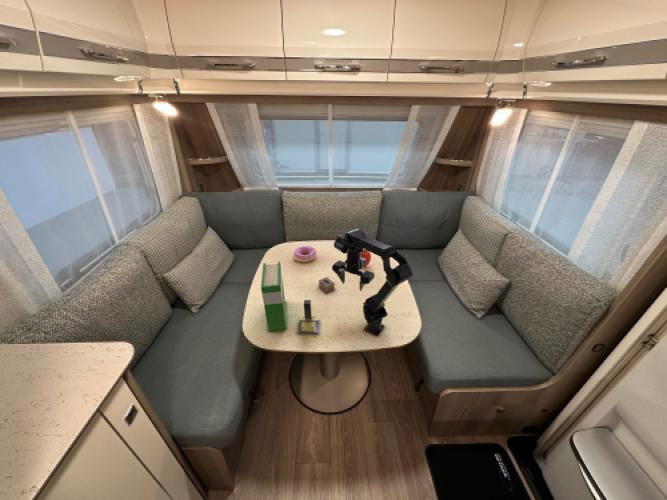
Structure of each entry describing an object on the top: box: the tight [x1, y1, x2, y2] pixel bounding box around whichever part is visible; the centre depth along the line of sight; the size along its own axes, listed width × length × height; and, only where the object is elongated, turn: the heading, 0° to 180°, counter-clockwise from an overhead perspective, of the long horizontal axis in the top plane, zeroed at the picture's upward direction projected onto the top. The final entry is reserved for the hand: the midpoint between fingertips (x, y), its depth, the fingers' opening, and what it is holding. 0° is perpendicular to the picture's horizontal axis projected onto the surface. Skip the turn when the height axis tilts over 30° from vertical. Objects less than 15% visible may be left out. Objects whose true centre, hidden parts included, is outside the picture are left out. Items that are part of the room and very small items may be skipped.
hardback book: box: [260, 261, 287, 332], centre depth 118 cm, size 18×7×24 cm, turn 10°
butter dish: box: [297, 315, 320, 335], centre depth 117 cm, size 8×7×4 cm
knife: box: [303, 299, 313, 322], centre depth 114 cm, size 3×2×14 cm
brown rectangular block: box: [318, 276, 335, 294], centre depth 140 cm, size 7×5×4 cm
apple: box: [360, 249, 372, 268], centre depth 156 cm, size 9×8×11 cm
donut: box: [293, 245, 317, 263], centre depth 167 cm, size 14×14×5 cm
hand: (352, 286), depth 121 cm, fingers open, 9 cm apart
